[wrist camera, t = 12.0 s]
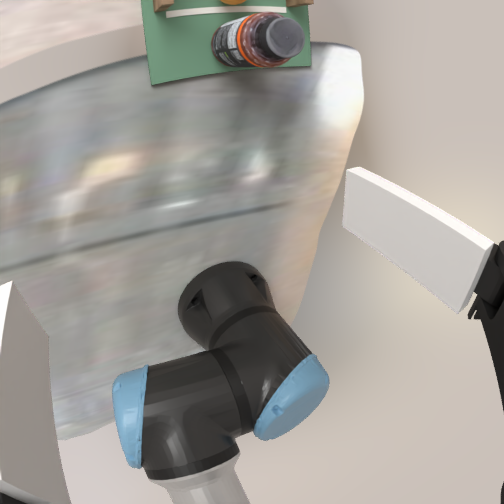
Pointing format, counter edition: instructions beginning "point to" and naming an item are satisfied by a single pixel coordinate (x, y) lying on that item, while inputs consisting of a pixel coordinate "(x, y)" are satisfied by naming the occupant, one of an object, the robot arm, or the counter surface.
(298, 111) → the counter surface
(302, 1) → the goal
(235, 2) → the ball
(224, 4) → the pitch mat
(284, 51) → the supplement bottle
